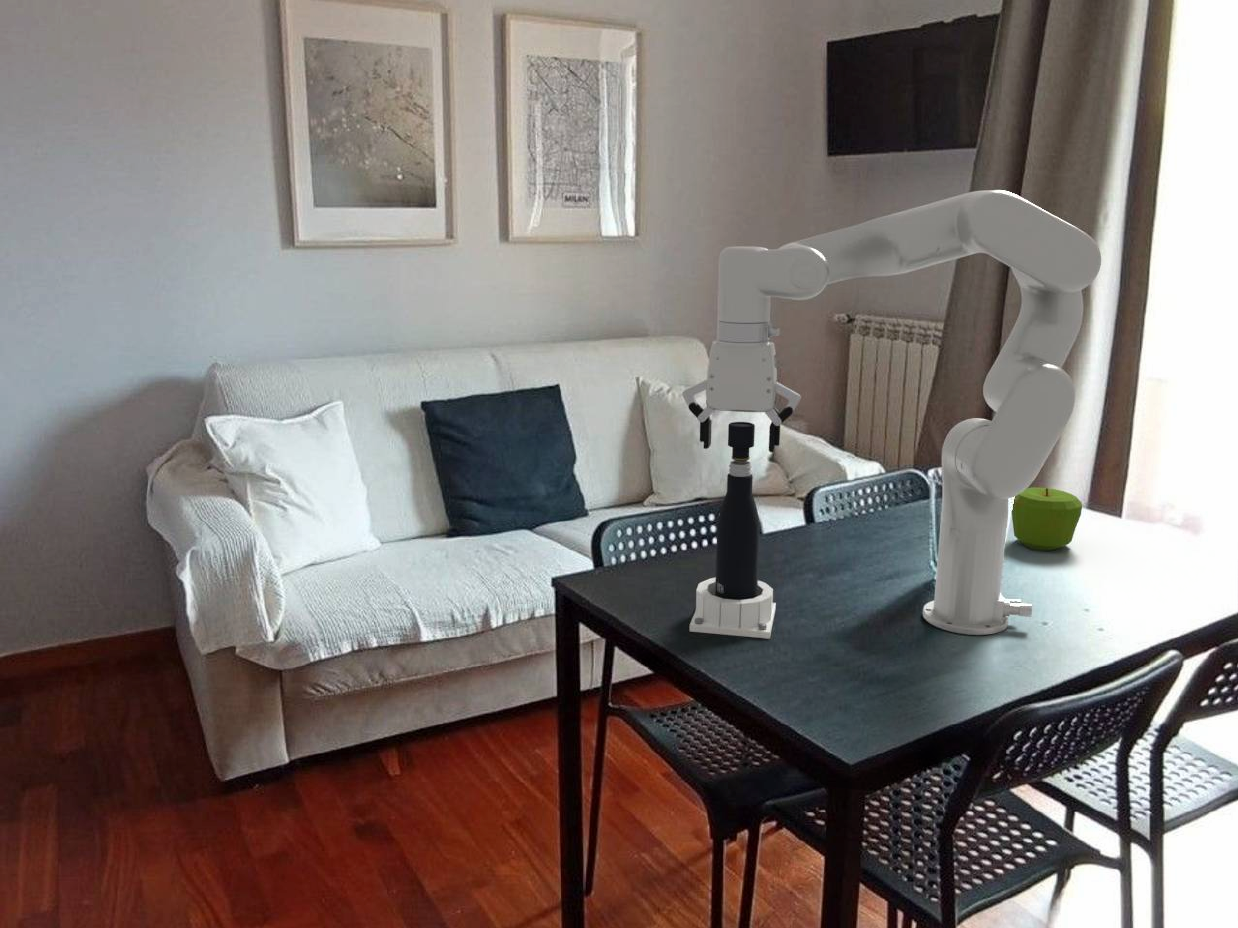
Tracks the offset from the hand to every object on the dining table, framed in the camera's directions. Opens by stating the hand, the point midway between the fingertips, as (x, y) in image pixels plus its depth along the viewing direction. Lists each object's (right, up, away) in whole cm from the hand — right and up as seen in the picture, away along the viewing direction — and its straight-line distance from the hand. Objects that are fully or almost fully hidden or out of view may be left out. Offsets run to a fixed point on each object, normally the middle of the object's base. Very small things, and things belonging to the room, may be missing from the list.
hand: (739, 448), depth 153 cm
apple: (+63, -18, +43) cm, 78 cm away
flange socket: (0, -26, +7) cm, 27 cm away
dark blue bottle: (0, -26, +6) cm, 27 cm away
